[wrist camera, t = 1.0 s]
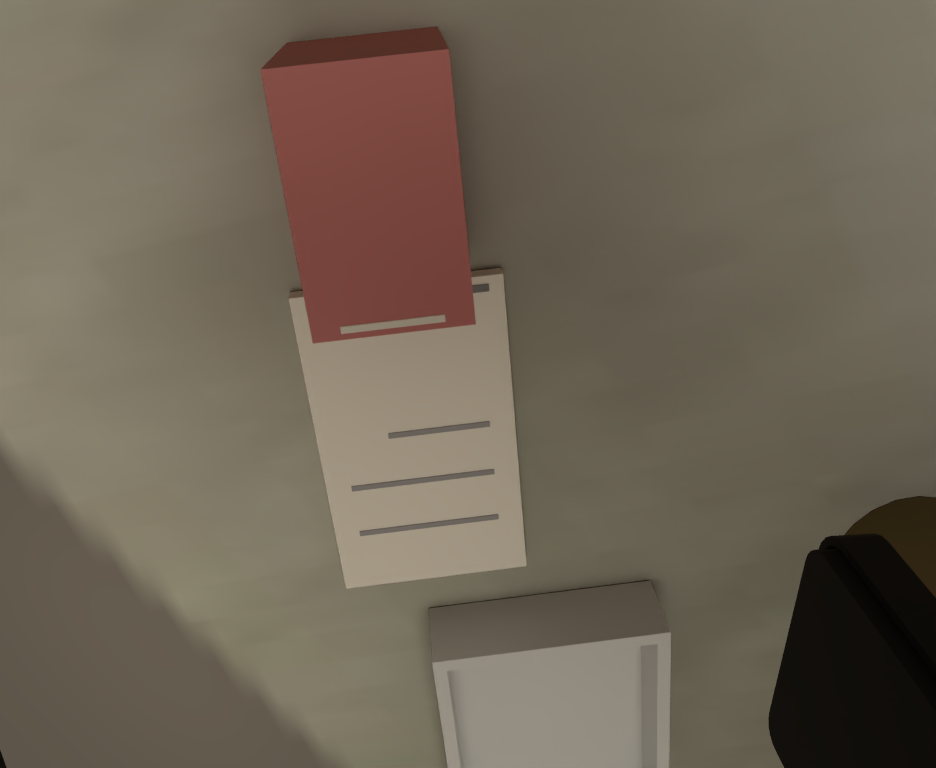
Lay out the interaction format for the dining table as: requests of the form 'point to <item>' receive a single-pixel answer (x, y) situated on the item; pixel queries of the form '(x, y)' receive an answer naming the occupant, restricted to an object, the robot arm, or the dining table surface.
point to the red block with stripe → (372, 182)
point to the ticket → (419, 444)
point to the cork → (907, 533)
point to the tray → (555, 680)
